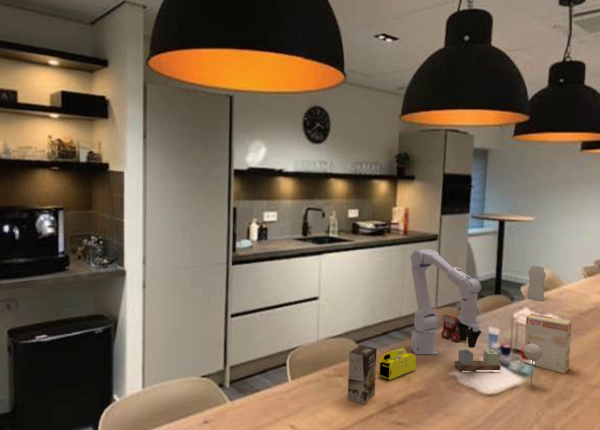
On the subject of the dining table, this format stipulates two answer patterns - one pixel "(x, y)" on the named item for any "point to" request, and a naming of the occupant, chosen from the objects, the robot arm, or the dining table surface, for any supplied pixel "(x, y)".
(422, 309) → the robot arm
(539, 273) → the dispenser
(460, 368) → the walnut base brick
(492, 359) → the sage block
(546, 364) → the coffeecake box
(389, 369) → the yellow toy machine
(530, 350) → the lollipop
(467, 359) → the slate block
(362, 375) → the coffee box
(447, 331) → the toy fire truck
